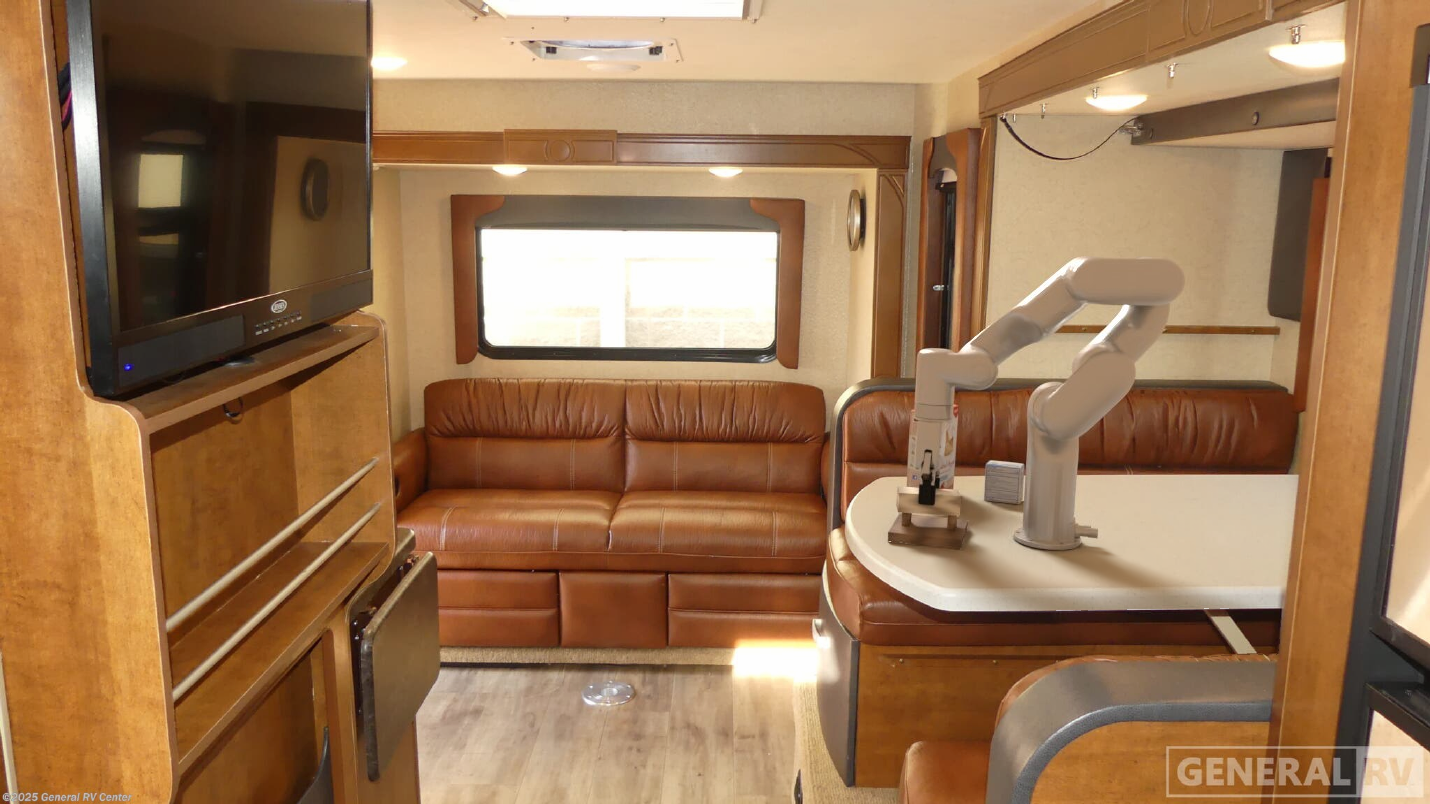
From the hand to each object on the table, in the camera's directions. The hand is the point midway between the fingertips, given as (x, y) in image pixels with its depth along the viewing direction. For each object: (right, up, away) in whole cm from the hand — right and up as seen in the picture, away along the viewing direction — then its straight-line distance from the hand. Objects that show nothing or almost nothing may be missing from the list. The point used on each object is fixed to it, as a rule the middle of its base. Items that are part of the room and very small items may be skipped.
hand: (928, 499), depth 202 cm
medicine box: (+23, -3, +27) cm, 36 cm away
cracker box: (+7, -2, +31) cm, 32 cm away
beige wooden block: (0, -2, 0) cm, 2 cm away
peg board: (0, -7, +1) cm, 7 cm away
